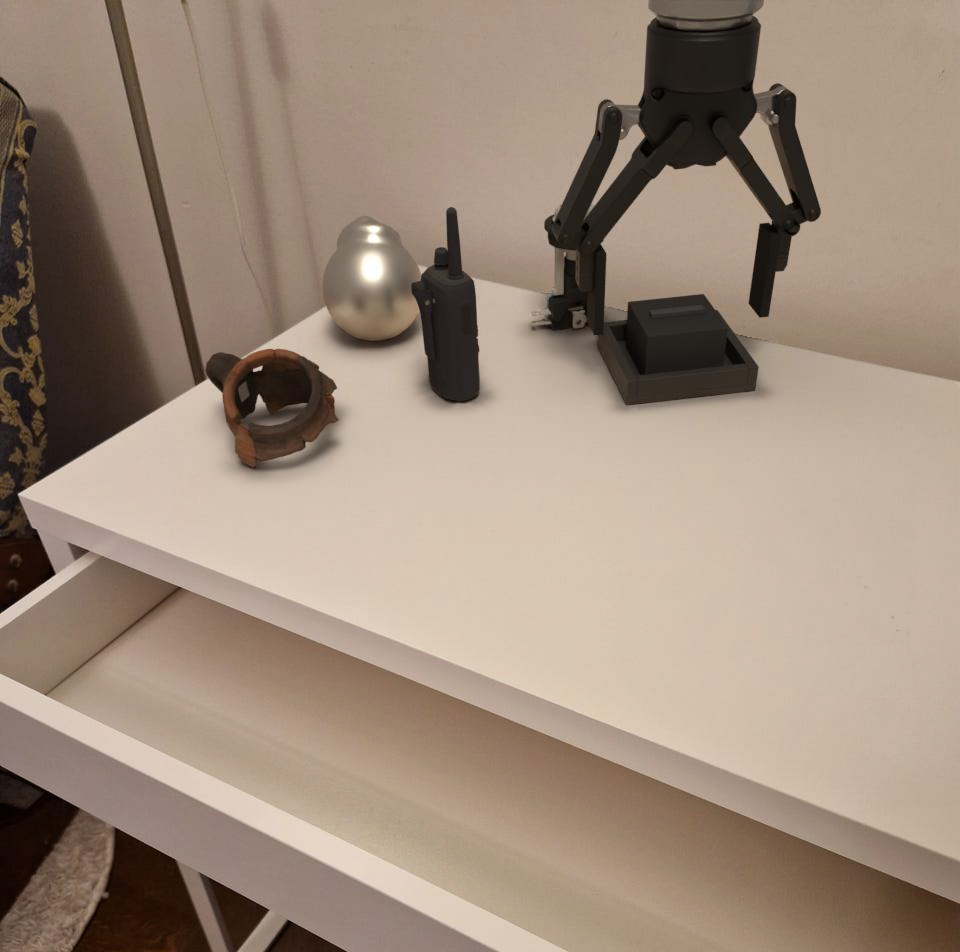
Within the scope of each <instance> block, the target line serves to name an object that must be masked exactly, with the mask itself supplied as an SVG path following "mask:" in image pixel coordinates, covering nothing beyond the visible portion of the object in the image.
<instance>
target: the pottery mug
mask: <svg viewBox="0 0 960 952" xmlns="http://www.w3.org/2000/svg"><path fill="white" fill-rule="evenodd" d="M260 367H261V369H258V370H256V371H254V370H255V369H257V368H260ZM204 371H205V374H206V377H207V378H208V379H209V381H210V382H211V384H212V385H214V387H215V388H216V389H217V390H218V391H220V393H221V394H222V396H221V397H222V404H223V411H224V416H225V421H226V424H227V426H228V428H229V431H230V432H231V434H232V435H233V436H234V437H235V438H234V439H235V440H234V448H235V450H234V453H235V454H236V455H237V457H238V460H240V461H241V462H242V463H244V464H246V465H247V466H249V467H250V468H255V466H256V465H257V464H258V462H259V463H260V462H261V463H263V462H266V461H271V460H276V459H279V458H283V457H287V456H290V455H292V454H295V453H298V452H301V451H303V450H305V449H306V446H307V443H313V442H315V440H316V439H317V438H319V436H320V434H321V433H322V432H323V431H324V430H325V428H326V427H327V426H329V425H330V424H335V423H337V422H338V421H339V417H338V416H337V415H336V412H335V411H336V410H335V409H336V408H335V407H336V406H335V403H336V399H335V396H333V395H332V394H333V393H334V392H335V390H337V389H338V386H337V385H336V382H335V381H334V379H332V378H331V377H329V376H328V375H327V374H325V373H324V372H323V371H320V366H319V364H318V363H315V362H314V361H312V360H310V359H308V358H307V357H305V356H303V355H300V354H299V353H297V352H294V351H292V350H288V349H286V348H285V349H284V348H275V349H274V348H266V349H261V350H257V351H255V352H252V353H250V354H248V355H247V356H245V357H244V358H241V357H239V356H237V355H235V354H232V353H227V352H222V351H221V352H220V351H219V352H216V353H213V354H212V355H211V356H210V357H209V359H208V360H207V362H206V363H205V370H204ZM259 396H260V398H261V400H262V402H263V403H264V405H265V407H266V410H267V412H268V413H269V415H274V414H275V413H277V412H278V411H279V410H283V409H284V408H286V407H290V406H295V405H300V404H306V405H305V407H304V408H303V409H302V410H301V412H300V413H299V414H297V415H295V417H293V418H291V419H290V420H287V421H284V422H282V423H279V424H272V425H265V424H258V423H254V422H252V421H249V422H248V423H247V427H246V426H245V425H244V423H243V422H242V420H245V419H247V417H248V416H250V415H251V414H253V413H254V412H255V410H256V406H257V402H258V397H259Z"/></svg>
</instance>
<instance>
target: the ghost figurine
mask: <svg viewBox="0 0 960 952" xmlns="http://www.w3.org/2000/svg"><path fill="white" fill-rule="evenodd" d="M409 251H410V250H408V249H407V248H405V246H404V245H403V241H402V237H401V235H400V233H399V231H397V230H396V229H394V228H392V226H390V225H388V224H385V223H382V222H379V221H378V220H376V219H374V218H373V217H371V216H368V215H362V216H361V215H360V216H358V217H357V218H355V219H353V221H351V222H349V223H348V224H346V225H345V226H344V227H343V228H342V229H341V231H340V232H339V234H338V237H337V240H336V249H335V251H334V252H333V253H332V254H331V256H330V257H329V259H328V261H327V263H326V265H325V268H324V271H323V276H322V296H323V300H324V304H325V307H326V309H327V311H328V313H329V315H330V317H331V318H332V320H333V321H334V322H335V323H336V324H337V326H338V327H339V328H341V329H342V330H343V331H344V332H345V333H347V334H348V335H350V336H352V337H354V338H356V339H360V340H364V341H368V342H379V341H381V342H382V341H385V340H386V341H387V340H390V339H392V338H395V337H396V336H398V335H400V334H401V333H403V332H405V331H406V330H407V329H408V328H409V327H410V326H411V325H412V324H413V323H414V321H415V319H416V318H417V316H418V315H419V313H420V310H419V307H418V304H417V301H416V299H415V297H414V296H413V294H412V290H411V284H412V283H413V282H417V281H421V275H422V273H421V269H420V267H419V265H418V262H417V261H416V259H415V258H414V256H413V255H412V254H411V252H409Z"/></svg>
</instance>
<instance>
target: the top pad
mask: <svg viewBox="0 0 960 952" xmlns="http://www.w3.org/2000/svg"><path fill="white" fill-rule="evenodd" d="M716 310H717V309H715V307H714V306H713V305H712V304H711V301H710V300H709V299H708V298H707V296H706V295H705V293H699V294H690V295H680V296H672V297H671V296H670V297H661V298H651V299H642V300H641V299H640V300H633V301H632V300H631V301H628V302H627V311H626V312H627V313H626V320H627V328H626V348H627V350H628V352H629V353H630V355H631V357H632V359H633V361H634V363H635V365H636V367H637V369H638V371H639V372H640V374H641V375H647V374H656V373H664V372H673V371H682V370H691V369H700V368H709V367H718V366H723V363H724V355H725V347H726V340H727V332H728V327H727V326H726V324H725V323H724V322H723V320H722V319H721V317H720V316H719V315H718V313H717V312H716Z"/></svg>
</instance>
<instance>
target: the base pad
mask: <svg viewBox="0 0 960 952" xmlns="http://www.w3.org/2000/svg"><path fill="white" fill-rule="evenodd" d="M715 310H716V312H717V313H718V315H719V316H720V317H721V319H722V320H723V322H724V323H725V324H726V326H727V327H728V332H727V340H726V347H725V355H724V363H723V366H718V367H709V368H700V369H691V370H682V371H673V372H664V373H656V374H647V375H641V374H640V372H639V371H638V369H637V367H636V365H635V363H634V361H633V359H632V357H631V355H630V353H629V352H628V350H627V348H626V328H627V319H621V320H613V321H604V332H603V335H596V338H597V339H596V346H597V348H598V350H599V352H600V354H601V356H602V358H603V360H604V362H605V364H606V366H607V368H608V370H609V372H610V374H611V376H612V378H613V380H614V382H615V384H616V386H617V388H618V390H619V393H620V395H621V396H622V399H623V400H624V403H625V404H626V406H629V405H638V404H648V403H656V402H665V401H673V400H682V399H690V398H691V399H692V398H701V397H707V396H708V397H709V396H717V395H724V394H725V395H726V394H734V393H743V392H752V391H756V387H757V380H758V374H759V367H760V366H759V365H758V363H757V362H756V361H755V359H754V358H753V356H752V355H751V354H750V353H749V351H748V350H747V348H746V347H745V346H744V344H743V343H742V342H741V340H740V339H739V337H738V336H737V335H736V334H735V332H734V330H733V329H732V328H731V326H730V325H729V324H728V322H727V321H726V320H725V319H724V317H723V315H722V314H721V313H720V312H719V310H718V309H715Z"/></svg>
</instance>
